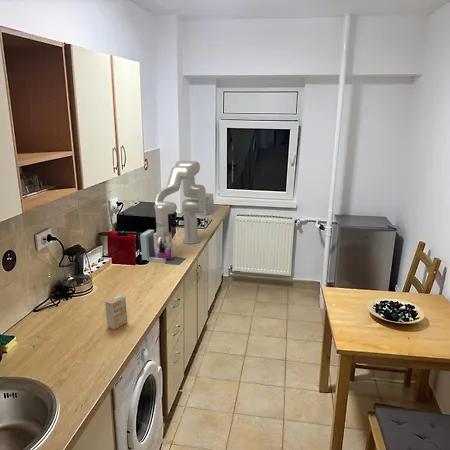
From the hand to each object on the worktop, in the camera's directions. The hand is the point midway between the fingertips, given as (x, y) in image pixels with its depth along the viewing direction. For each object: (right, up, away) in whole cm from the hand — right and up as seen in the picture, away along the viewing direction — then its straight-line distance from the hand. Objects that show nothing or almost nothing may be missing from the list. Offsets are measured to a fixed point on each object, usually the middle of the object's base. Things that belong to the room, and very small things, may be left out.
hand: (164, 250), depth 265 cm
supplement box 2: (+18, +28, +120) cm, 124 cm away
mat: (+8, -7, -1) cm, 10 cm away
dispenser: (-5, -6, +3) cm, 8 cm away
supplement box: (-9, -29, -78) cm, 84 cm away
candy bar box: (0, -5, +1) cm, 5 cm away
